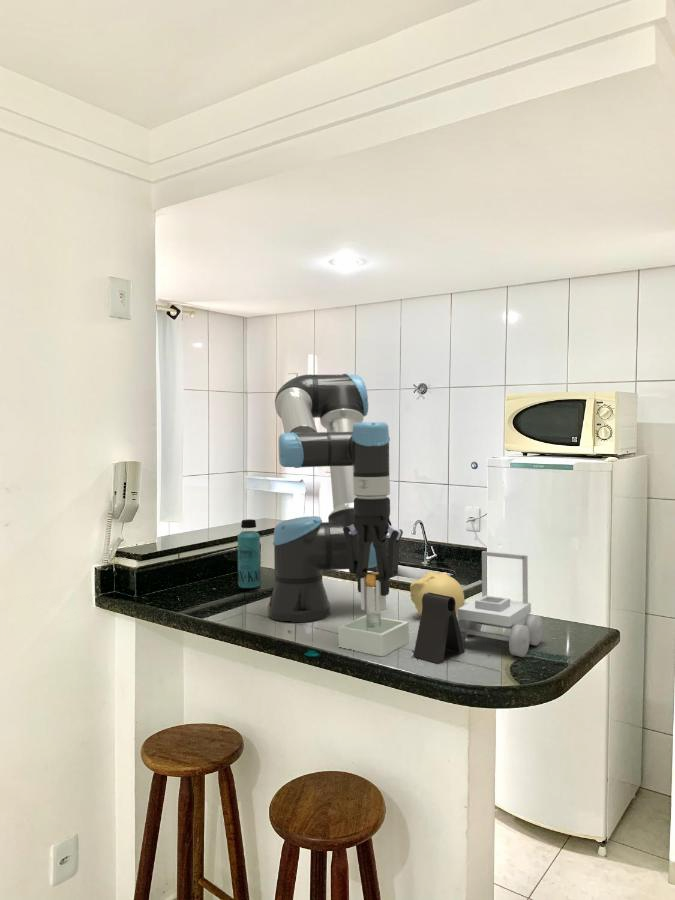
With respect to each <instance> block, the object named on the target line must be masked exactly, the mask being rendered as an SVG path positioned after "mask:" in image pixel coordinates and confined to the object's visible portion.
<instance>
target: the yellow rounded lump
mask: <svg viewBox="0 0 675 900" xmlns="http://www.w3.org/2000/svg"><path fill="white" fill-rule="evenodd" d="M409 589H410V590H409V591H410V595H409V596H410V600H411V601H412V603H413V604H414V606H415V608H416V611H417V612H418V613H419V615H420V616H421V614H422V598H423V595H424V594H425V593H427V594H428V592H429V593H434V594H439V595H444V596H449V597H453V598H454V599H455V602H456V605H455V611H456V615H458V608H460V607H462V606H464V605H465V594H464V590H463V588H462V586H461V584H460V583H459V582H458V581H457V580H456V579H455V578H453V577H451V575H448V574H447V572H434V571H428V572H426V573H425V574H423V576H422V577H421V578H419V579H417V580H415V581H413V582H411V584H410V586H409Z"/></svg>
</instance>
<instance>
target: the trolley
mask: <svg viewBox="0 0 675 900" xmlns="http://www.w3.org/2000/svg"><path fill="white" fill-rule="evenodd" d="M488 557H494V558H503V559H504V558H505V559H512V560H513V559H515V560H521V561H522V601H519V600H511V598H507V597H502V596H501V597H500V596H492V595H488ZM528 564H529V563H528V555H527V554H515V553H507V552H506V553H505V552H497V551H496V552H494V551H481V591H482V592H481V593H482V595H481V596H479V597H478V598H476V599H474V600H472V601H470V602H468V603H466V604H464V606H462V607H460V608H458V615H456V616H457V620H458V624H459V629H460V633H461V637H462V641H463V644H464V643H465V641H466V638H467V635H470V636H476V637H483V638H489V639H492V640H493V639H494V640H500V641H504V642H505V641H506V642H508V648H509V649H508V650H509V652H510V655H511V656H516V657H520V658H524V657H526V656H527V654H528V651H529V647H530V646H537V644H539V643H540V644H541V641H542V638H543V634H544V623H543V619H542V616H541V615H534V614H531V613H532V607H531V606H532V604H531V602H528V599H529V597H528V596H529V593H528V591H529V589H528V588H529V586H528V584H529V583H528V582H529V581H528V579H529V578H528V576H529V575H528V573H529V572H528V567H529V566H528ZM524 618H525V620H524V622H523V624H524V625H523V624H517V622H519V621H520V620H522V619H524ZM483 625H484V626H489V627H490V626H491V627H494V628H495V627H497V628H500V629H501V628H503V629H507V630H510V631H509V635H505V634H498V633H493V632H487V631H482V627H483ZM540 644H539V645H540Z"/></svg>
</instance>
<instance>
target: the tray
mask: <svg viewBox="0 0 675 900" xmlns="http://www.w3.org/2000/svg"><path fill="white" fill-rule="evenodd" d="M409 623H410V622H409V621H404V620H397V619H392V618H385V617H381V627H379V628H368V627H367V626H366V614H365V615H363V616H360V617H358V618H356V619H354V620H351V621H349V622H347V623H344V624H342V625H340V626H338V648H339V647H344V648H347V649H346V650H348V649H352V650H351V651H353V650H355V651H354V652H358V651H359V652H358V653H362V652H363V653H364V654H367V655H373V656H377V657H382V658H383V657H385V656H386V655H388V654H390V653H392V652H394V651H396V650H398V649H399V648H401V647H403V646H405V645H407V644H409V643H410V635H409V634H410V633H409V632H410V628H409V627H410V625H409Z"/></svg>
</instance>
